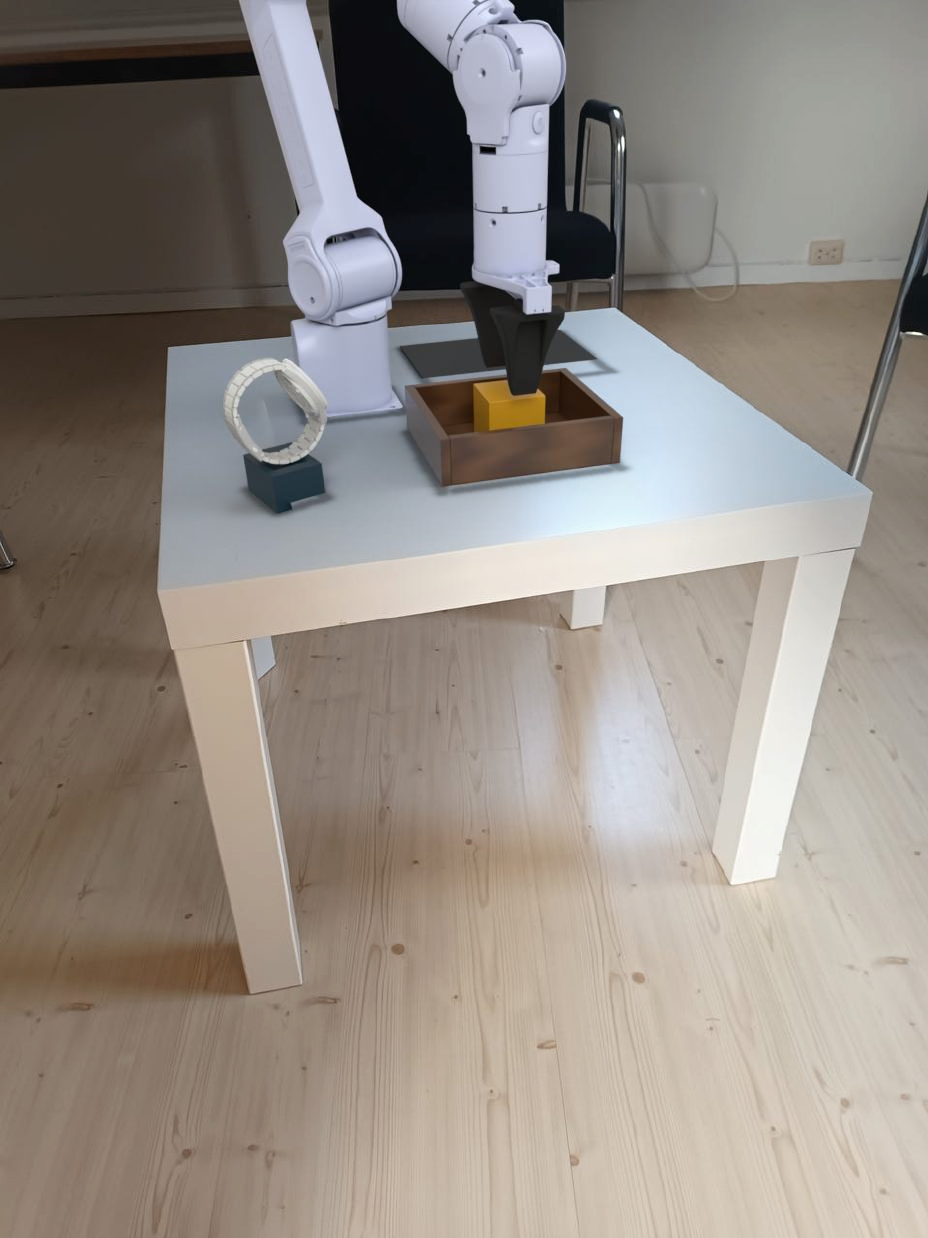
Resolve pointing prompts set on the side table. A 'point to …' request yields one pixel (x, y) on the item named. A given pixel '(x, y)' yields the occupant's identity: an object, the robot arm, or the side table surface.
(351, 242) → the robot arm
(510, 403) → the cube
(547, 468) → the box
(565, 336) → the mat
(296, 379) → the watch
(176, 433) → the side table surface
